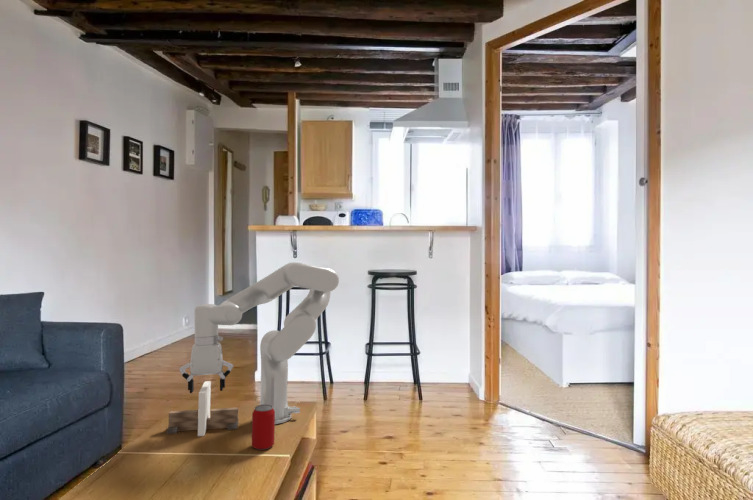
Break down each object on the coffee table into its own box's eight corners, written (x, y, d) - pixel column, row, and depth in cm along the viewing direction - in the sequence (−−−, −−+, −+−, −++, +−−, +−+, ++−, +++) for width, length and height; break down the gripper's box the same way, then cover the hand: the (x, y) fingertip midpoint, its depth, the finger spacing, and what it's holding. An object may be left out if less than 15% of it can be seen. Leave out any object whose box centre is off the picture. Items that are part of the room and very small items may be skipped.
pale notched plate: (209, 420, 157) (210, 381, 158) (204, 435, 144) (205, 392, 144) (203, 421, 157) (204, 381, 157) (197, 436, 143) (198, 392, 144)
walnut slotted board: (238, 422, 156) (238, 405, 156) (236, 429, 150) (237, 411, 150) (171, 427, 151) (171, 409, 151) (166, 433, 145) (167, 415, 145)
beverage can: (268, 440, 141) (268, 402, 141) (278, 447, 136) (278, 407, 136) (247, 445, 137) (248, 406, 137) (257, 453, 131) (258, 412, 132)
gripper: (234, 337, 157) (234, 386, 156) (181, 340, 153) (181, 389, 153) (231, 341, 149) (232, 392, 149) (176, 344, 146) (177, 396, 145)
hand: (206, 391), depth 151 cm, fingers open, 9 cm apart
